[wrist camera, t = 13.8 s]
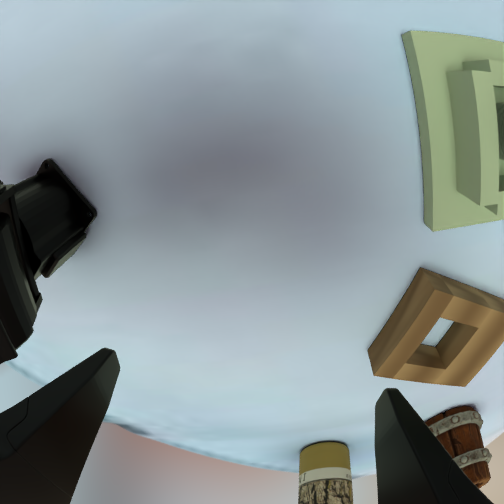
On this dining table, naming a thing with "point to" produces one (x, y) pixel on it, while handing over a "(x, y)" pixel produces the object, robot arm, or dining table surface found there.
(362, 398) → the dining table surface
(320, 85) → the dining table surface
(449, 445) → the mug
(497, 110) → the grey glass peg
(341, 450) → the bark textured cylinder
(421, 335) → the wooden rectangular frame
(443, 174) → the socket stand
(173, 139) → the dining table surface
